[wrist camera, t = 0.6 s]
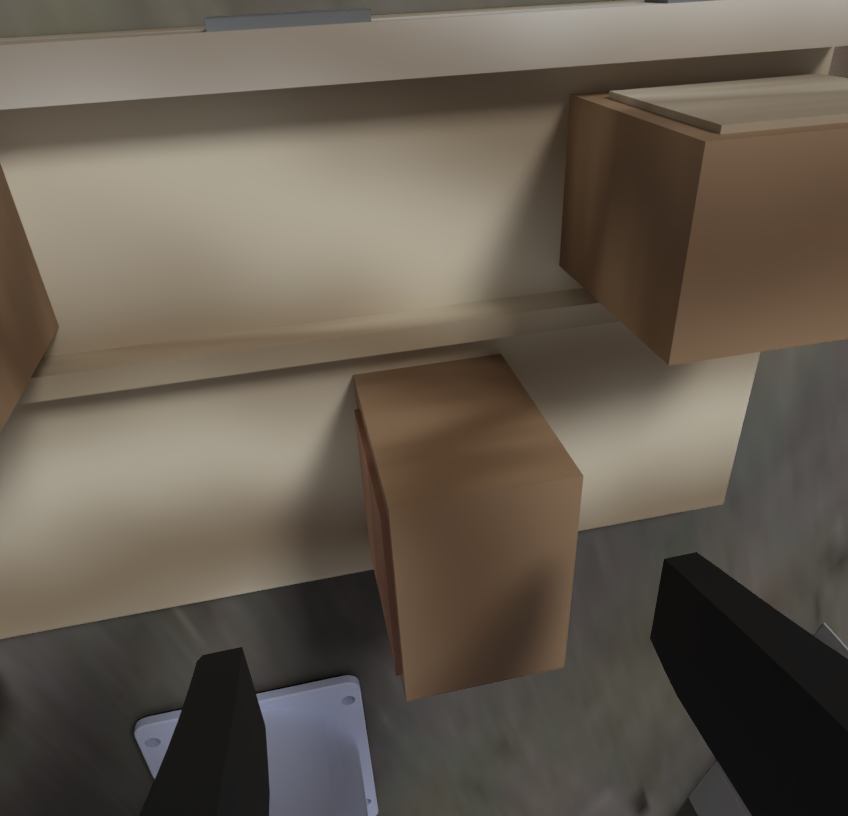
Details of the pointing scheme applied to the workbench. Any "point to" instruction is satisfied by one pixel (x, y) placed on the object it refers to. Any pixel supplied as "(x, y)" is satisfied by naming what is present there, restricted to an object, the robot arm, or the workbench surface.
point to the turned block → (466, 523)
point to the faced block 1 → (19, 307)
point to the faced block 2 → (712, 212)
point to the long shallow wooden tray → (327, 278)
